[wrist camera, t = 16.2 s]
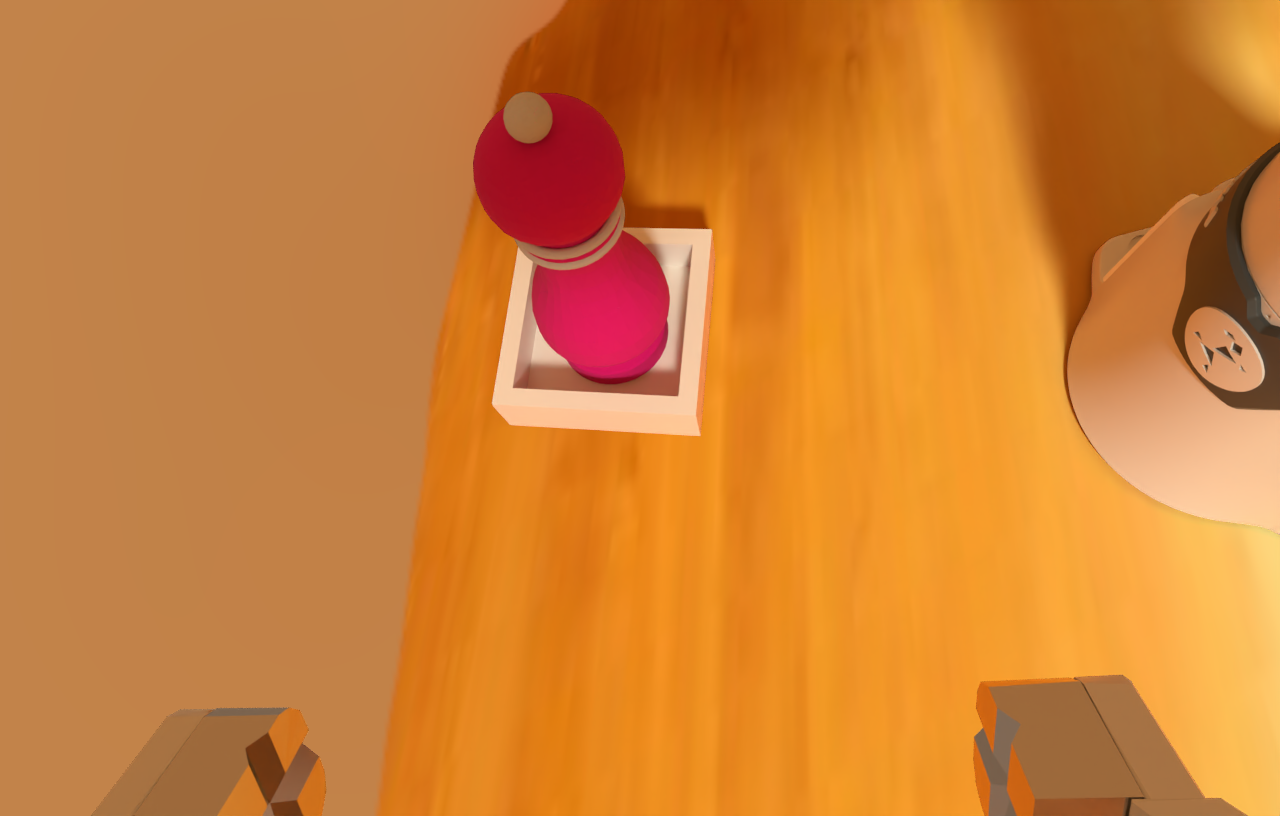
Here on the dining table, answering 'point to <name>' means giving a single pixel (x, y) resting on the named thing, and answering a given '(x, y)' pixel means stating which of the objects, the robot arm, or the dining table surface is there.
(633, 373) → the pepper mill
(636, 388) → the mill holder
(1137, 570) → the dining table surface
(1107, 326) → the robot arm
